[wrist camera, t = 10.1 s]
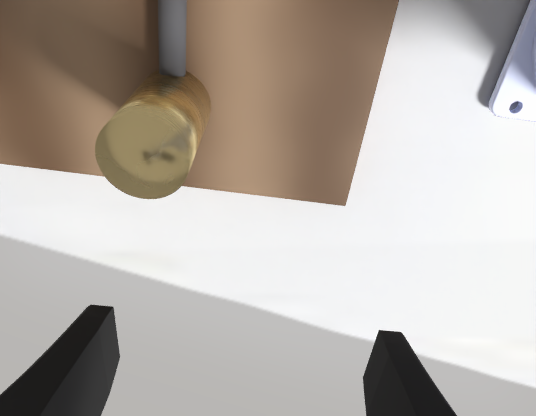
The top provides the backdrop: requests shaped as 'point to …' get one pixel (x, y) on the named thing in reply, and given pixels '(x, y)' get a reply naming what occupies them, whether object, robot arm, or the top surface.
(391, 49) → the top surface
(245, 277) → the top surface
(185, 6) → the cream block with stem
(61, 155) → the walnut lane shelf
